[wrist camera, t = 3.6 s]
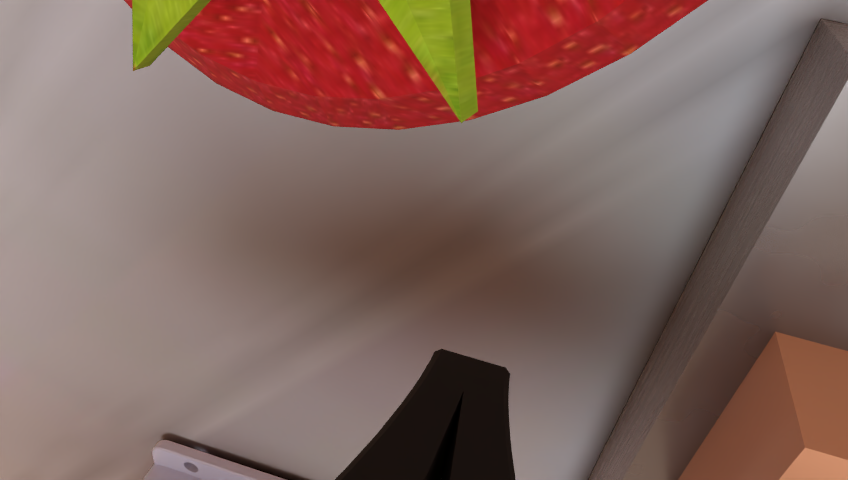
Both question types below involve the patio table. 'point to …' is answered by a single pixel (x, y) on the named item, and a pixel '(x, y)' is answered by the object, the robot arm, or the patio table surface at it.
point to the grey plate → (752, 274)
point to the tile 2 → (782, 418)
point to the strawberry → (397, 51)
